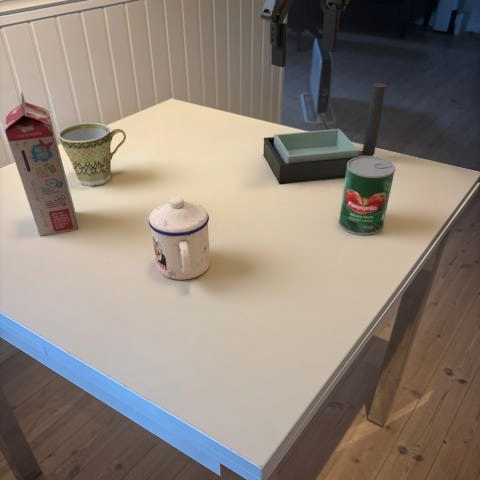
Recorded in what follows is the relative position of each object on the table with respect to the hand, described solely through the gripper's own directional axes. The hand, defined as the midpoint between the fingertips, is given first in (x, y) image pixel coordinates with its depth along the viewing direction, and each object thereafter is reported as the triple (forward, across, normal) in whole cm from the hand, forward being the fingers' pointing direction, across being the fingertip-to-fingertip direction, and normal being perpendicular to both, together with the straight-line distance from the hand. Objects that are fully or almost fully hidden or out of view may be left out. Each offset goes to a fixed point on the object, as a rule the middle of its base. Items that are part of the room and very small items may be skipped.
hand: (304, 58), depth 89 cm
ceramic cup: (+22, +31, -28) cm, 47 cm away
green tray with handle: (+21, -8, +1) cm, 23 cm away
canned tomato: (+23, +7, +22) cm, 32 cm away
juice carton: (+22, +47, -17) cm, 54 cm away
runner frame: (+22, -5, -1) cm, 23 cm away
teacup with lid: (+22, +39, +11) cm, 46 cm away
